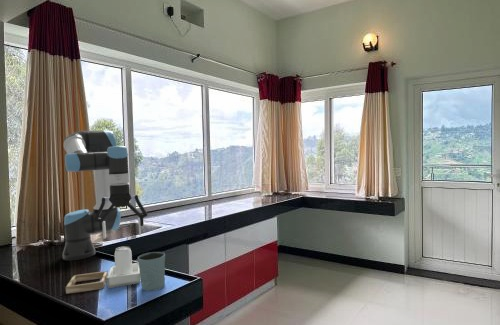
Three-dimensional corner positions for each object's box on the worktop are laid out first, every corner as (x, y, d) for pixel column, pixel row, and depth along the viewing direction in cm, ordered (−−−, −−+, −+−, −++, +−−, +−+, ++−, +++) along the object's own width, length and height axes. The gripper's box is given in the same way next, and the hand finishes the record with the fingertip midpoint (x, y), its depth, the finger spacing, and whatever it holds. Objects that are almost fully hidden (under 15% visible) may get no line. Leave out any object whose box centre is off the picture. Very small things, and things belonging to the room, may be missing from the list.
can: (134, 273, 140) (133, 245, 140) (129, 279, 134) (128, 250, 133) (119, 274, 140) (117, 246, 140) (113, 280, 133) (111, 251, 133)
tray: (111, 275, 142) (111, 266, 142) (141, 271, 145) (140, 262, 145) (107, 288, 129) (106, 278, 128) (140, 283, 132) (139, 273, 132)
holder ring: (74, 281, 138) (73, 275, 137) (108, 276, 141) (107, 270, 141) (66, 294, 125) (65, 287, 125) (103, 288, 129) (103, 282, 129)
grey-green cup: (140, 294, 122) (138, 261, 121) (138, 284, 131) (136, 254, 131) (168, 288, 126) (167, 256, 125) (164, 279, 135) (162, 249, 135)
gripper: (84, 187, 128) (87, 241, 129) (151, 182, 135) (154, 234, 136) (87, 185, 136) (91, 237, 137) (151, 181, 143) (154, 230, 143)
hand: (122, 235), depth 136 cm, fingers open, 13 cm apart
